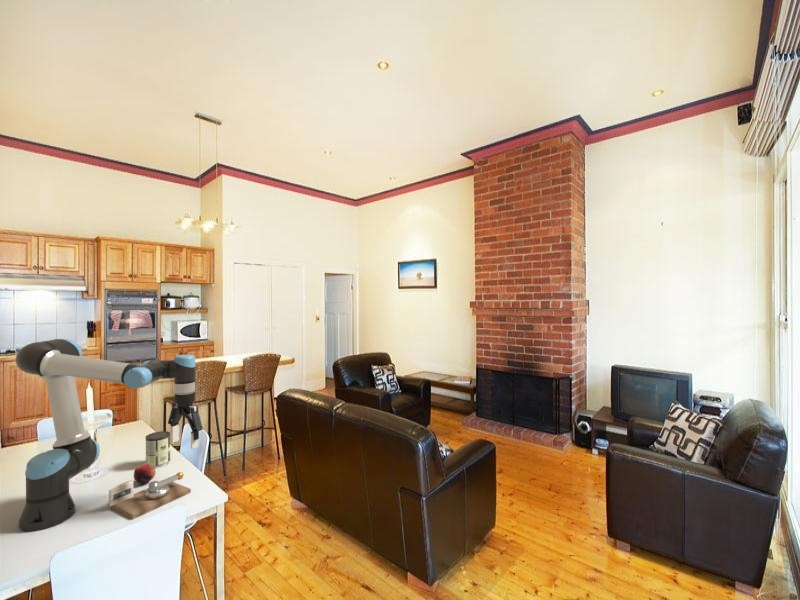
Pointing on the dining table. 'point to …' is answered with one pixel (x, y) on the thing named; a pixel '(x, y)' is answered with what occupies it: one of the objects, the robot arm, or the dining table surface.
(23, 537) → the dining table surface
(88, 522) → the dining table surface
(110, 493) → the stand
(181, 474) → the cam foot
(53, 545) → the dining table surface
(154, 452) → the coffee can
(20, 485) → the dining table surface
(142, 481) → the fruit
